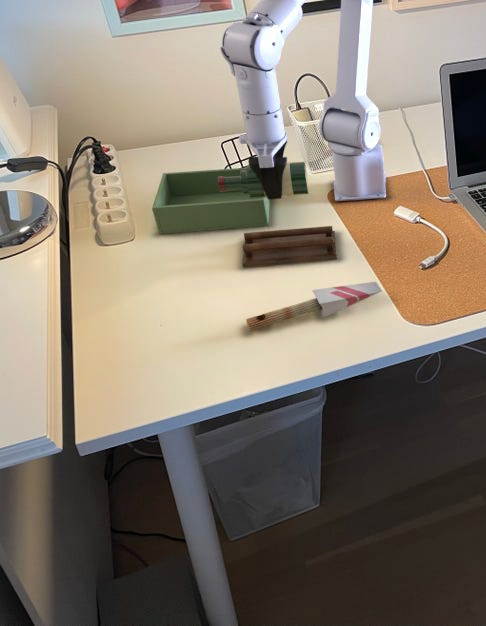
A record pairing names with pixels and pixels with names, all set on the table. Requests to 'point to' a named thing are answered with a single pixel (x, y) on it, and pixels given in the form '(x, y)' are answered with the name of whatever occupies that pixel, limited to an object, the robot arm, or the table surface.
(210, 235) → the table surface
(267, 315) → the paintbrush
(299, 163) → the bottle
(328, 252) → the rack
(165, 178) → the basket
